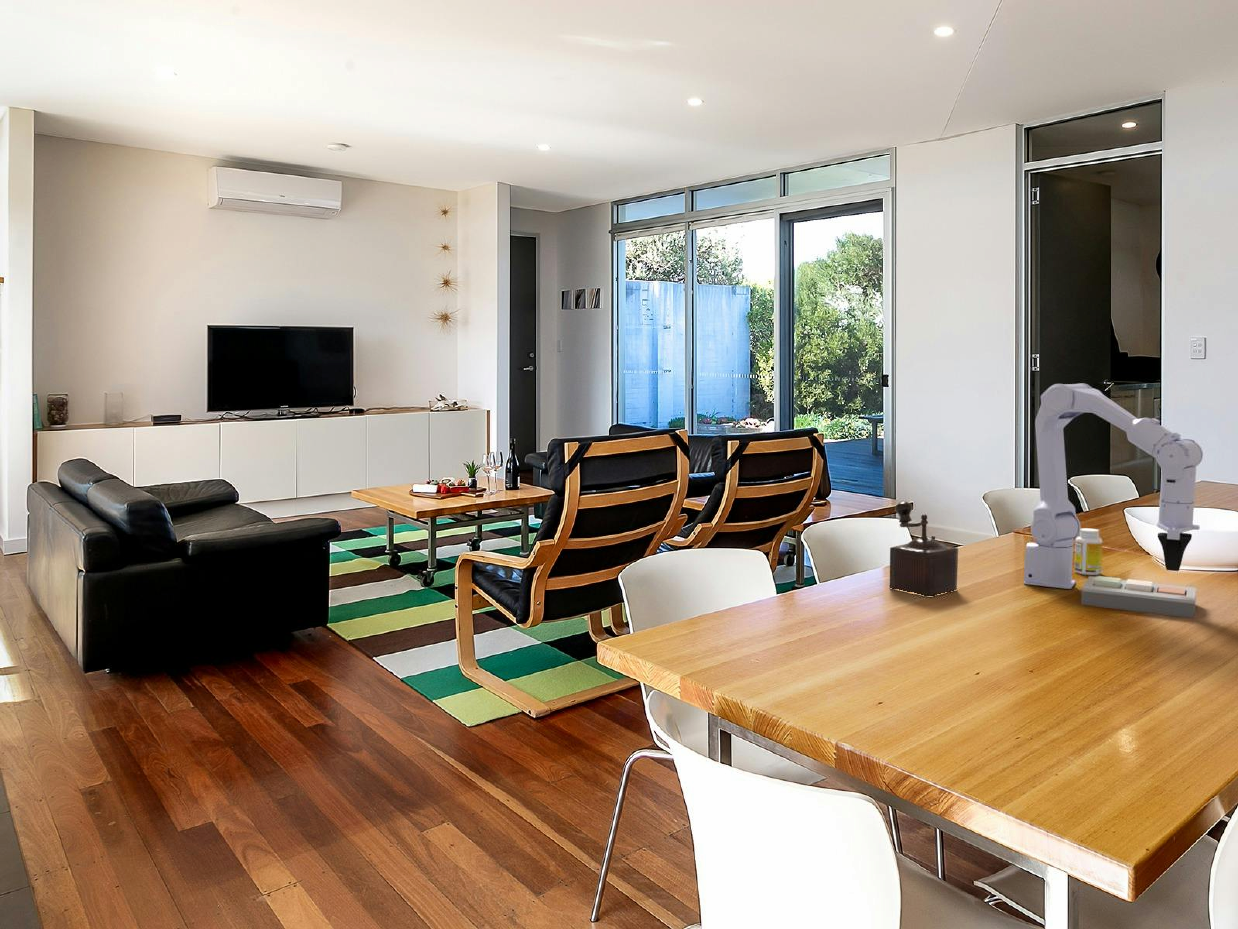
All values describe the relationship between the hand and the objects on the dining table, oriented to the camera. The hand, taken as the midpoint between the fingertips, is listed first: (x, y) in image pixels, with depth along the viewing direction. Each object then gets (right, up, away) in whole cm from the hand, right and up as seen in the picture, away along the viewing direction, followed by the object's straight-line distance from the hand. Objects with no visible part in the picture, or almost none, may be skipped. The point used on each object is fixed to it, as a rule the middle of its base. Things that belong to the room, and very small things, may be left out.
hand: (1172, 570), depth 179 cm
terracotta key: (0, -6, +1) cm, 6 cm away
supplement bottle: (0, -5, +32) cm, 32 cm away
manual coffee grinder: (-45, -6, +19) cm, 49 cm away
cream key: (-5, -5, +4) cm, 8 cm away
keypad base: (-5, -7, +4) cm, 9 cm away
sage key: (-9, -5, +7) cm, 12 cm away
